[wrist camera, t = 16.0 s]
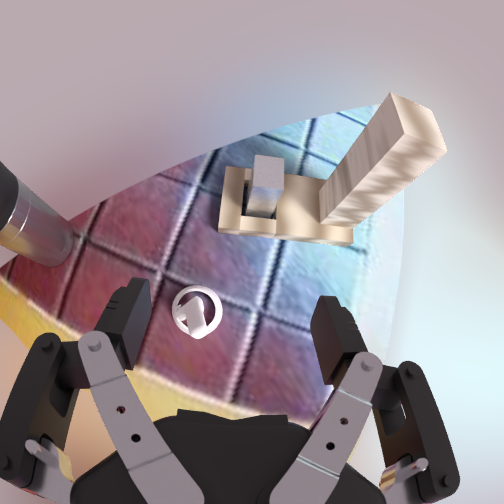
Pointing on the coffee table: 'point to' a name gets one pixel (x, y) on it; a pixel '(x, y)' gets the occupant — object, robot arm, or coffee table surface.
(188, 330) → the white vr controller
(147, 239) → the coffee table surface
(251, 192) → the smooth gray rectangular block
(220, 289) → the coffee table surface
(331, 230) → the beam with square loop
